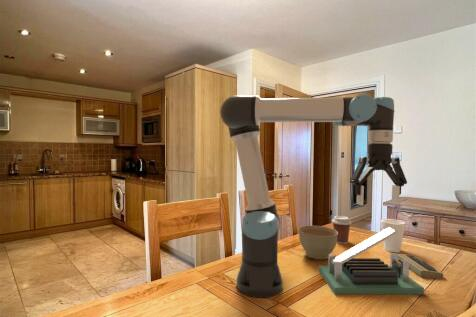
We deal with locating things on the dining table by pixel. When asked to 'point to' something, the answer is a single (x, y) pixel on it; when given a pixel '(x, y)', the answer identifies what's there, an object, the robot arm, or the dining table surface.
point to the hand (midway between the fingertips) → (377, 204)
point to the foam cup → (396, 240)
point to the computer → (420, 267)
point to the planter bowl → (318, 241)
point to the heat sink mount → (370, 270)
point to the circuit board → (350, 288)
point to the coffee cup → (341, 228)
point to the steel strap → (364, 246)
